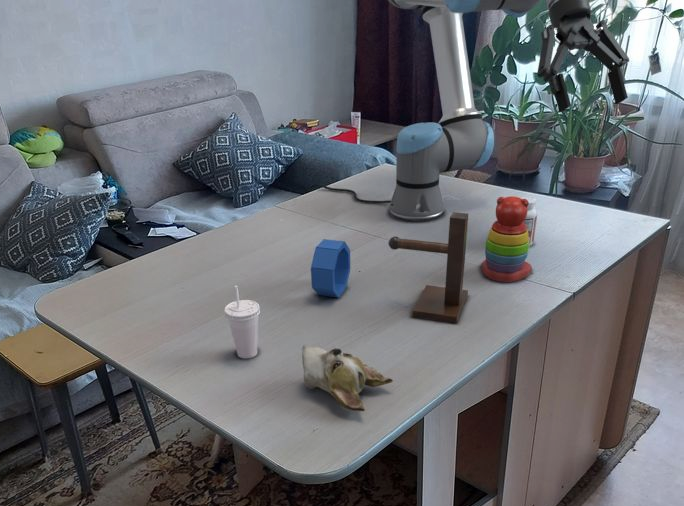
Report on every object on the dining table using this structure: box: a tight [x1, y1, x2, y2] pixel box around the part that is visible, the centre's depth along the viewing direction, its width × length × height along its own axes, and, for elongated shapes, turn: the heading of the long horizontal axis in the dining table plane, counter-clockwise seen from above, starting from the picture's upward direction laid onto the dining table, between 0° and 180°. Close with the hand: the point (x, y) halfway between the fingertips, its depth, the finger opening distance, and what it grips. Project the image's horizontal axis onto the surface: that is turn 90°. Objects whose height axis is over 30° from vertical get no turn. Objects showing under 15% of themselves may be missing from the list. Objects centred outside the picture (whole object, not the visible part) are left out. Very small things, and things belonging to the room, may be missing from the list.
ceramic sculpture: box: [301, 344, 394, 412], centre depth 107 cm, size 11×9×15 cm
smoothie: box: [224, 285, 261, 359], centre depth 117 cm, size 6×6×14 cm
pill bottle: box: [519, 196, 538, 247], centre depth 158 cm, size 6×6×11 cm
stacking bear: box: [481, 196, 532, 283], centre depth 142 cm, size 11×10×18 cm
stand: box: [388, 211, 469, 324], centre depth 130 cm, size 16×12×20 cm
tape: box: [310, 238, 351, 299], centre depth 139 cm, size 5×11×11 cm, turn 160°
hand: (593, 105), depth 128 cm, fingers open, 13 cm apart
